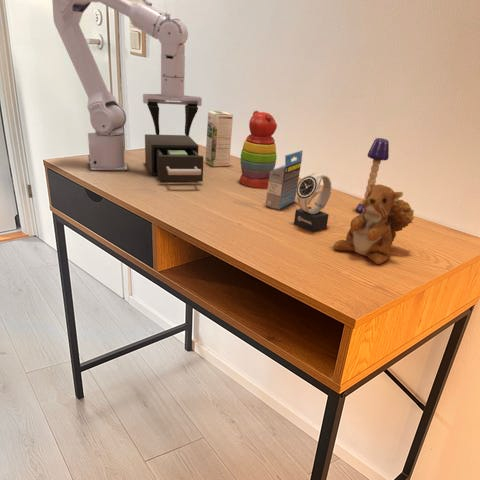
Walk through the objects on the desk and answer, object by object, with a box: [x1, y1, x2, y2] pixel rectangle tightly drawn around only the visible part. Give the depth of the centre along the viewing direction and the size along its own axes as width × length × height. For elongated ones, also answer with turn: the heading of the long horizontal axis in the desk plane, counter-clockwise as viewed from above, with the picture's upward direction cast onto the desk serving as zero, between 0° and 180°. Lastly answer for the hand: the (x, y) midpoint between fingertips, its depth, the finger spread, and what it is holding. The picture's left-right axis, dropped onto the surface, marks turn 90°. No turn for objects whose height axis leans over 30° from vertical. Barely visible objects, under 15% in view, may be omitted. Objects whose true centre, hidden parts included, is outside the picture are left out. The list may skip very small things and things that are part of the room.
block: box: [168, 150, 188, 156], centre depth 127 cm, size 4×4×5 cm
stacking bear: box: [239, 110, 278, 189], centre depth 127 cm, size 11×10×18 cm
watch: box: [293, 172, 332, 233], centre depth 102 cm, size 6×8×11 cm
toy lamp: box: [355, 137, 390, 215], centre depth 113 cm, size 5×5×17 cm
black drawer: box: [154, 148, 204, 183], centre depth 126 cm, size 17×11×6 cm, turn 17°
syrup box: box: [205, 110, 234, 167], centre depth 143 cm, size 6×6×14 cm
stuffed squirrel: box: [332, 182, 415, 265], centre depth 92 cm, size 10×14×13 cm
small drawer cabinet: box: [144, 133, 199, 177], centre depth 135 cm, size 13×12×8 cm
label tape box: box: [265, 150, 303, 210], centre depth 114 cm, size 9×4×12 cm, turn 149°
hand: (172, 134), depth 127 cm, fingers open, 7 cm apart
